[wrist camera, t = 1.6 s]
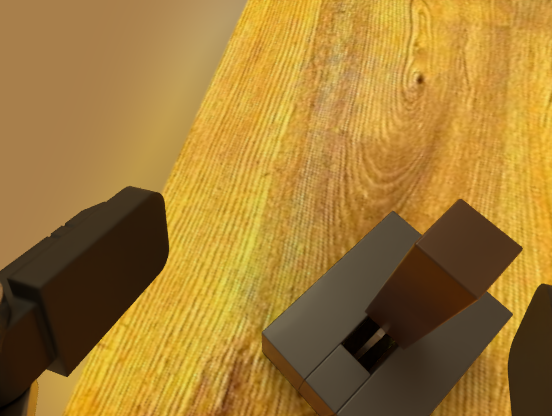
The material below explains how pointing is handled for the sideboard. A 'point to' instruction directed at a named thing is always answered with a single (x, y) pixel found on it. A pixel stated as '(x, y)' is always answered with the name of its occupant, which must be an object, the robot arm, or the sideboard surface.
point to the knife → (440, 276)
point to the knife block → (351, 316)
